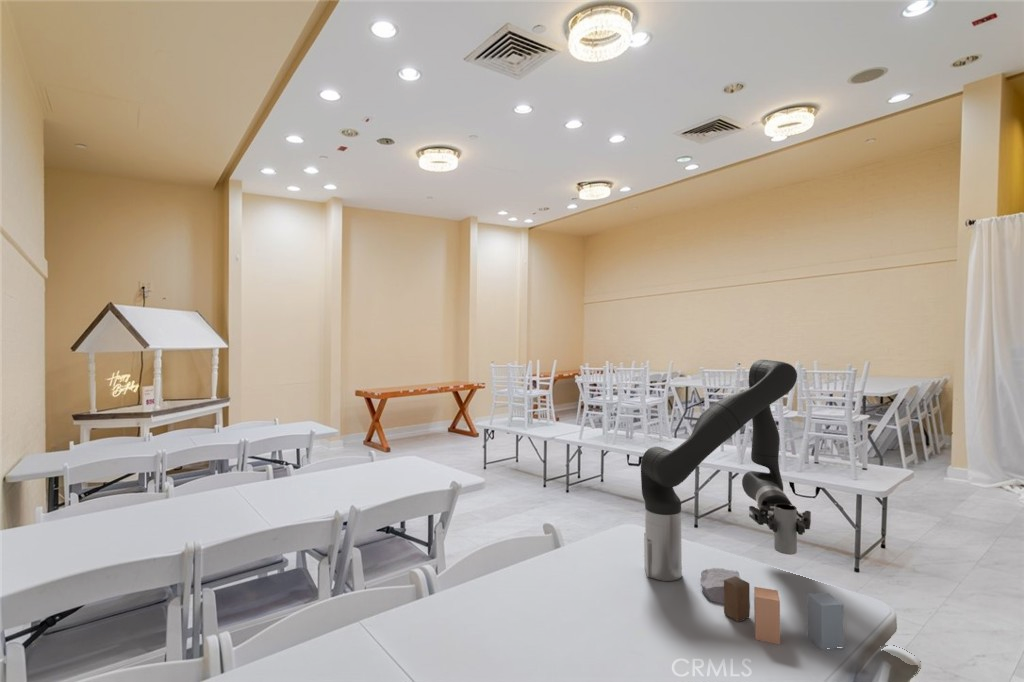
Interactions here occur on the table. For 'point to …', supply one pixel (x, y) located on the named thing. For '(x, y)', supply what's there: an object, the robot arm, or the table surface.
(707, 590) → the stone block
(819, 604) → the slate-blue block
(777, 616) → the terracotta block
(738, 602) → the wooden block
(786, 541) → the planter
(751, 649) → the table surface
